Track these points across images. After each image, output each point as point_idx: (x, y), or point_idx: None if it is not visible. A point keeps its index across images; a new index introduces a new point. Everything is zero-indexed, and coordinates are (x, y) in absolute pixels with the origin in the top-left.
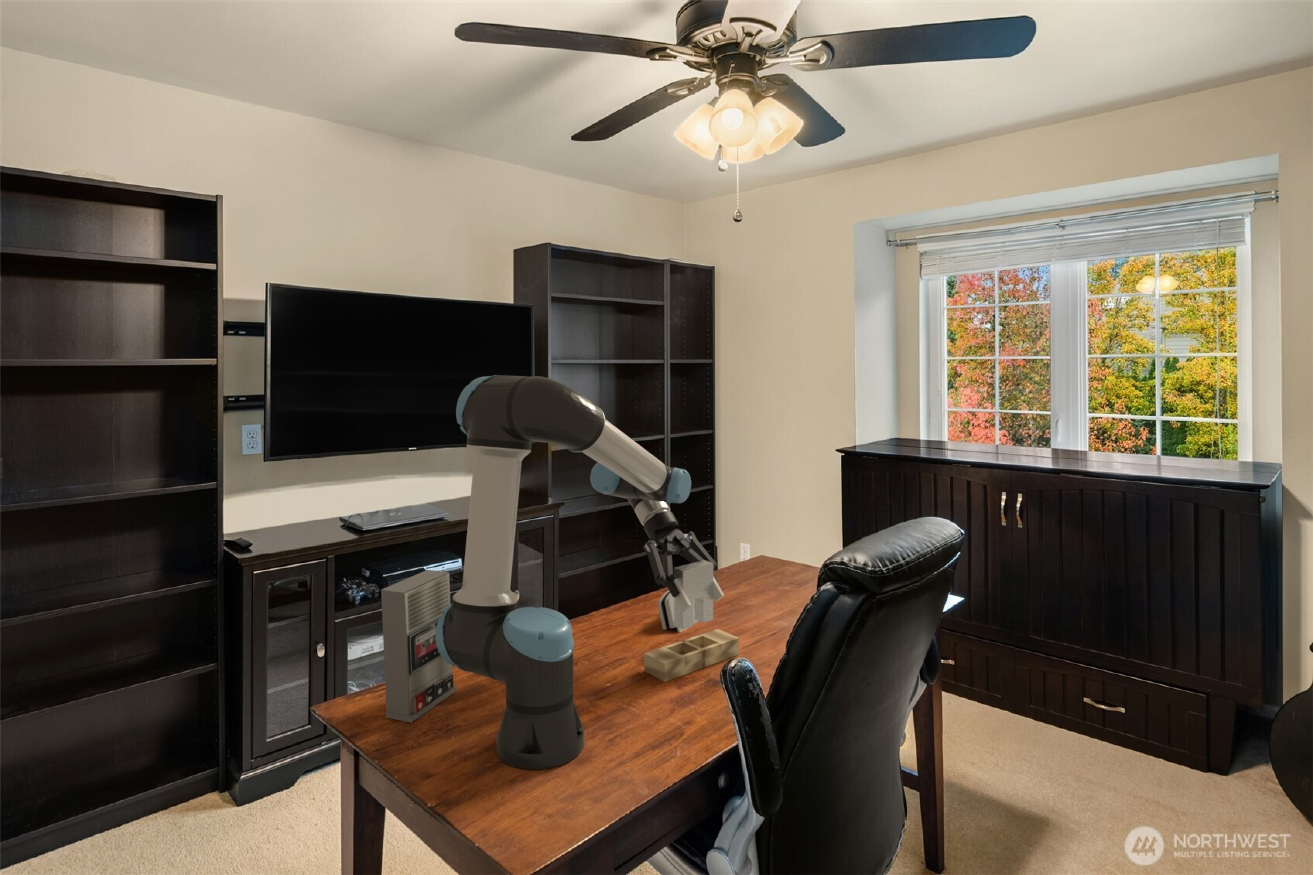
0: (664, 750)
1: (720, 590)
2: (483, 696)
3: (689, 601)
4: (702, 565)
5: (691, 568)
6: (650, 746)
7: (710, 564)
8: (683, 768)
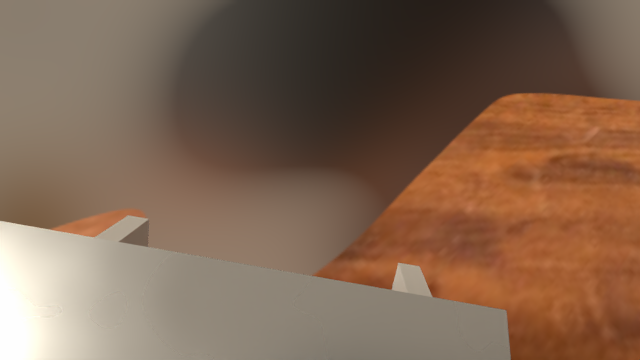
0: (612, 151)
1: (116, 231)
2: None
3: (404, 274)
4: (127, 260)
5: (343, 291)
6: (629, 175)
7: (3, 224)
8: (609, 104)
